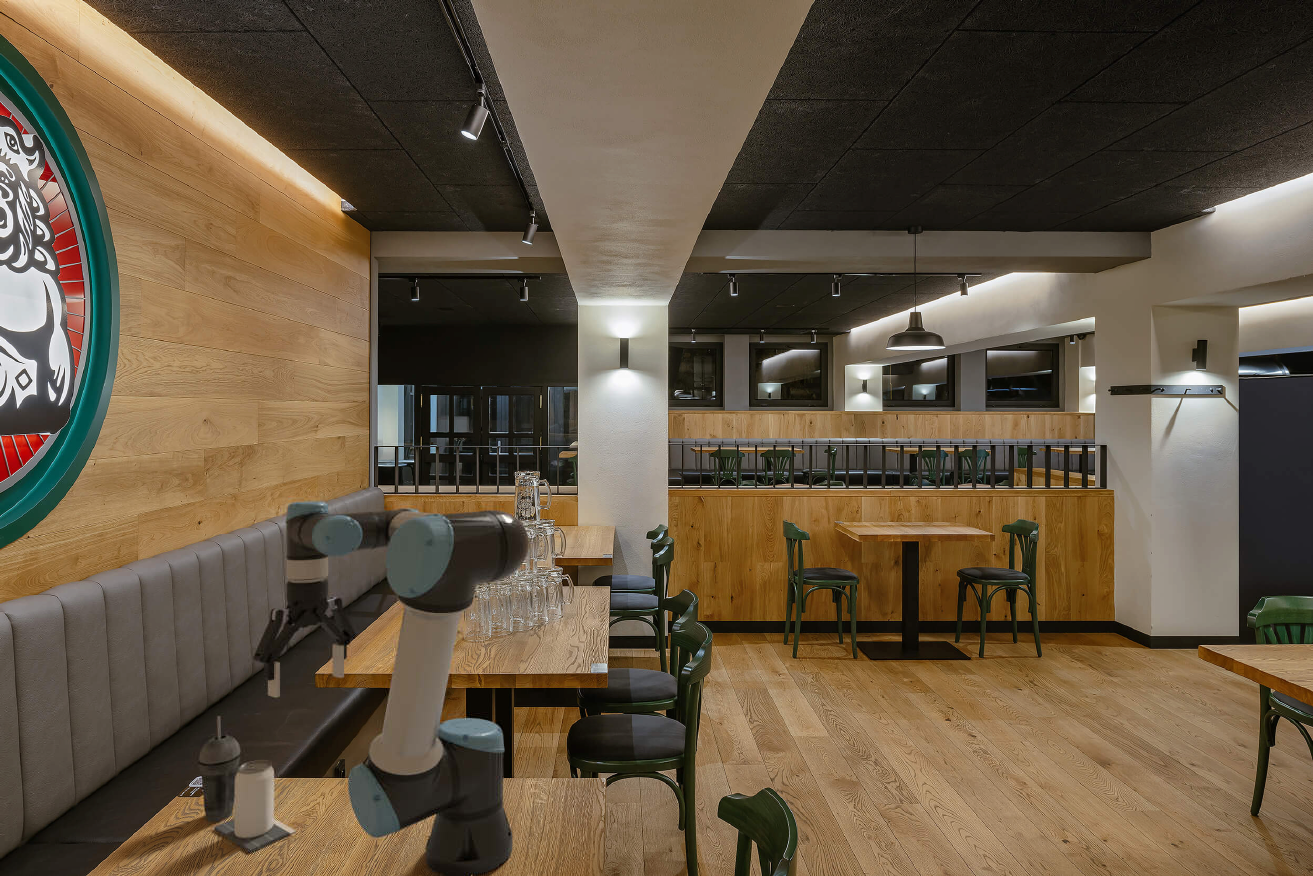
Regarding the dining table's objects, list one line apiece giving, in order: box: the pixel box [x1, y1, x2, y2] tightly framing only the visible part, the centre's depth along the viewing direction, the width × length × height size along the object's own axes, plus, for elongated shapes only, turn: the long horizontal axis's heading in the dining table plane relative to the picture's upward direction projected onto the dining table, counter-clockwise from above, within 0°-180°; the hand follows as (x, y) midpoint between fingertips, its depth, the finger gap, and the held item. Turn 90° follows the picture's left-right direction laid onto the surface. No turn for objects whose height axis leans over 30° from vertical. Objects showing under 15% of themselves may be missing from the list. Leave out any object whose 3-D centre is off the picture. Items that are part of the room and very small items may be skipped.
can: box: [233, 759, 275, 839], centre depth 135 cm, size 6×6×12 cm
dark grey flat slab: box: [214, 818, 297, 854], centre depth 136 cm, size 14×8×1 cm, turn 56°
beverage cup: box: [197, 715, 242, 823], centre depth 141 cm, size 7×7×20 cm
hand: (307, 686), depth 143 cm, fingers open, 13 cm apart
